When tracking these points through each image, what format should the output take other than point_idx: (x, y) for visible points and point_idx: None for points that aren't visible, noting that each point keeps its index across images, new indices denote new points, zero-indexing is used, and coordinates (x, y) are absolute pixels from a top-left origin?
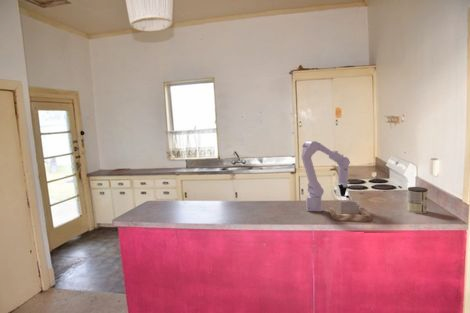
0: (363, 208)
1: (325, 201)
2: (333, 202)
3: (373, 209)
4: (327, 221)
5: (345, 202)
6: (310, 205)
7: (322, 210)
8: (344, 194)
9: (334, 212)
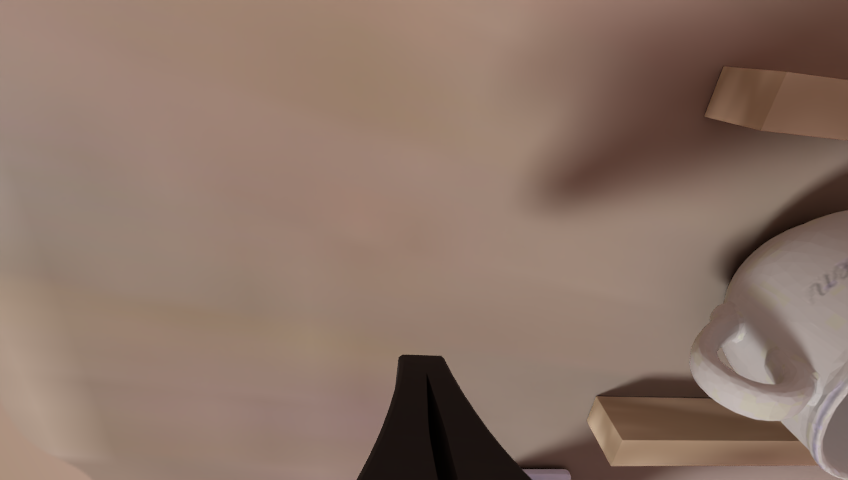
0: (827, 90)
1: (105, 402)
2: (142, 324)
3: None
4: None
5: (818, 402)
6: None
7: (562, 474)
8: (454, 386)
9: None
